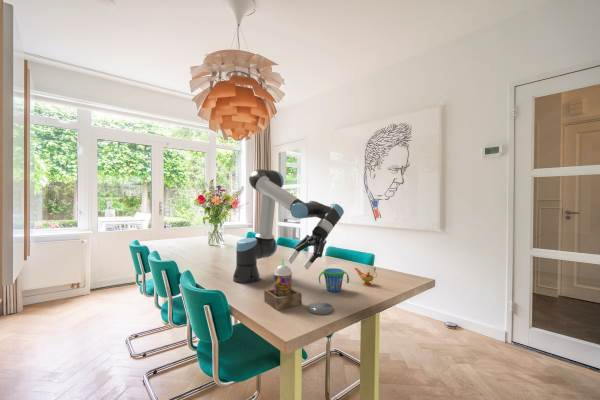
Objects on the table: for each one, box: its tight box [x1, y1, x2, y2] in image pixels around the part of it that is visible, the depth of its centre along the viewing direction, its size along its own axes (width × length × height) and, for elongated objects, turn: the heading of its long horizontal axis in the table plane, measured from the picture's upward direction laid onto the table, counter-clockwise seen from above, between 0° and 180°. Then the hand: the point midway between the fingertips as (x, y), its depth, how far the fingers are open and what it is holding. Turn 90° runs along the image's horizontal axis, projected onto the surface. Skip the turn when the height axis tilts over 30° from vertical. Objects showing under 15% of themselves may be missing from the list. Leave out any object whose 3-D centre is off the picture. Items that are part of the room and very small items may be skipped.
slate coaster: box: [307, 301, 334, 316], centre depth 119 cm, size 11×11×1 cm
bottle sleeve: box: [263, 287, 303, 311], centre depth 127 cm, size 12×12×5 cm
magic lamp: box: [354, 266, 378, 287], centre depth 156 cm, size 7×18×11 cm, turn 29°
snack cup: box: [318, 267, 350, 293], centre depth 145 cm, size 16×10×10 cm
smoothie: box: [273, 258, 293, 297], centre depth 127 cm, size 8×8×20 cm
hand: (297, 264), depth 130 cm, fingers open, 13 cm apart
